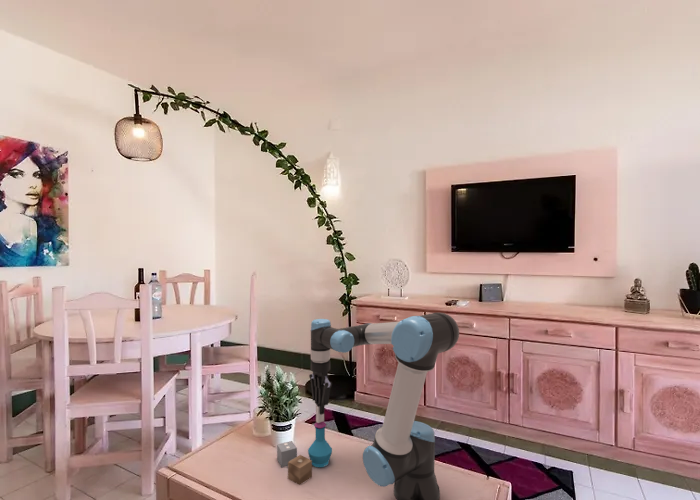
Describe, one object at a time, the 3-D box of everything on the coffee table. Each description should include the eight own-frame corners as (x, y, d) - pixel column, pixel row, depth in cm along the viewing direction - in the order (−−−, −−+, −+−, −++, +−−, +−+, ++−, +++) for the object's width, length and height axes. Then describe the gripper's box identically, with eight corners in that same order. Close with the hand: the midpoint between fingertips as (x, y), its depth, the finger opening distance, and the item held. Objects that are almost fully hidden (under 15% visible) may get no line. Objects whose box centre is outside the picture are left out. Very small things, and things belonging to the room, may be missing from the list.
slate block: (296, 463, 144) (296, 447, 144) (281, 467, 141) (281, 451, 141) (291, 455, 149) (292, 440, 149) (277, 459, 146) (277, 443, 146)
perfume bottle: (333, 456, 149) (333, 418, 149) (330, 470, 139) (330, 429, 139) (310, 455, 150) (310, 417, 149) (305, 468, 140) (305, 428, 140)
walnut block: (311, 477, 135) (311, 460, 135) (299, 485, 131) (299, 467, 130) (300, 471, 139) (300, 454, 139) (287, 478, 134) (288, 461, 134)
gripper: (338, 362, 141) (337, 425, 142) (319, 354, 152) (319, 412, 152) (321, 366, 137) (320, 430, 137) (303, 357, 147) (303, 417, 147)
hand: (320, 421), depth 145 cm, fingers closed
